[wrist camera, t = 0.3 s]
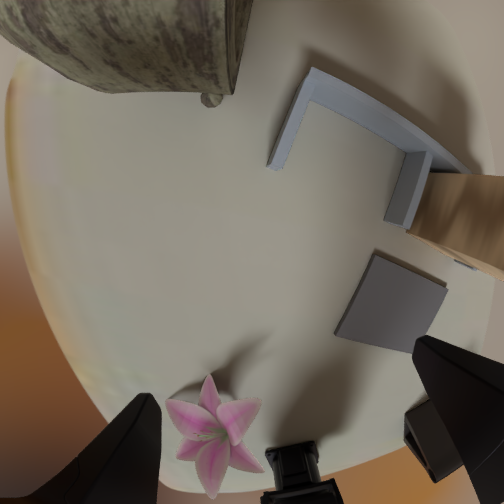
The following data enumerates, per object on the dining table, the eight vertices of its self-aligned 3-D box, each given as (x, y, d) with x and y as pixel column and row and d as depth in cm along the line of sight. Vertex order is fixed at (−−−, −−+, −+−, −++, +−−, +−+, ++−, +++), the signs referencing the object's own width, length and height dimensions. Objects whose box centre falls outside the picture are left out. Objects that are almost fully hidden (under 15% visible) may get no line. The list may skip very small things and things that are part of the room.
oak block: (444, 254, 22) (532, 296, 11) (405, 232, 21) (507, 272, 10) (462, 200, 21) (553, 220, 9) (426, 172, 20) (530, 179, 8)
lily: (276, 355, 25) (234, 397, 16) (302, 448, 23) (274, 507, 14) (180, 367, 29) (122, 395, 20) (210, 447, 27) (166, 488, 18)
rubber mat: (411, 351, 25) (413, 354, 24) (333, 333, 23) (335, 335, 23) (445, 287, 23) (448, 289, 23) (373, 253, 22) (375, 255, 21)
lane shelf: (458, 263, 23) (482, 274, 19) (266, 166, 20) (272, 162, 16) (478, 201, 21) (504, 206, 17) (298, 85, 18) (311, 66, 14)
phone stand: (404, 413, 28) (441, 472, 16) (438, 392, 28) (479, 444, 16) (403, 440, 30) (431, 491, 18) (433, 422, 30) (464, 468, 18)
